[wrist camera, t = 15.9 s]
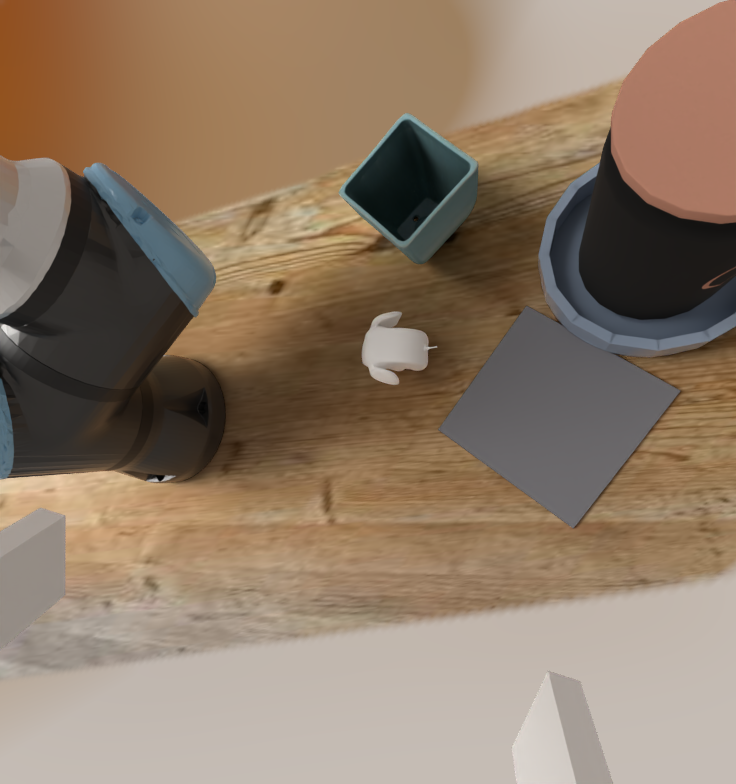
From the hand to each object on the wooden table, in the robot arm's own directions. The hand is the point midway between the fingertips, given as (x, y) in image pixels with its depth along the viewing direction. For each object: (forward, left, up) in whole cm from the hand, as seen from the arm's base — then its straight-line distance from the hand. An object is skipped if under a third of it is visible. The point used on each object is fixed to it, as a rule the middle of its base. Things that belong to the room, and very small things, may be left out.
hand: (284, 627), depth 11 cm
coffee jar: (+1, +25, -30) cm, 39 cm away
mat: (+2, +11, -31) cm, 32 cm away
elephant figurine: (-12, +8, -31) cm, 34 cm away
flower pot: (-18, +20, -31) cm, 41 cm away
